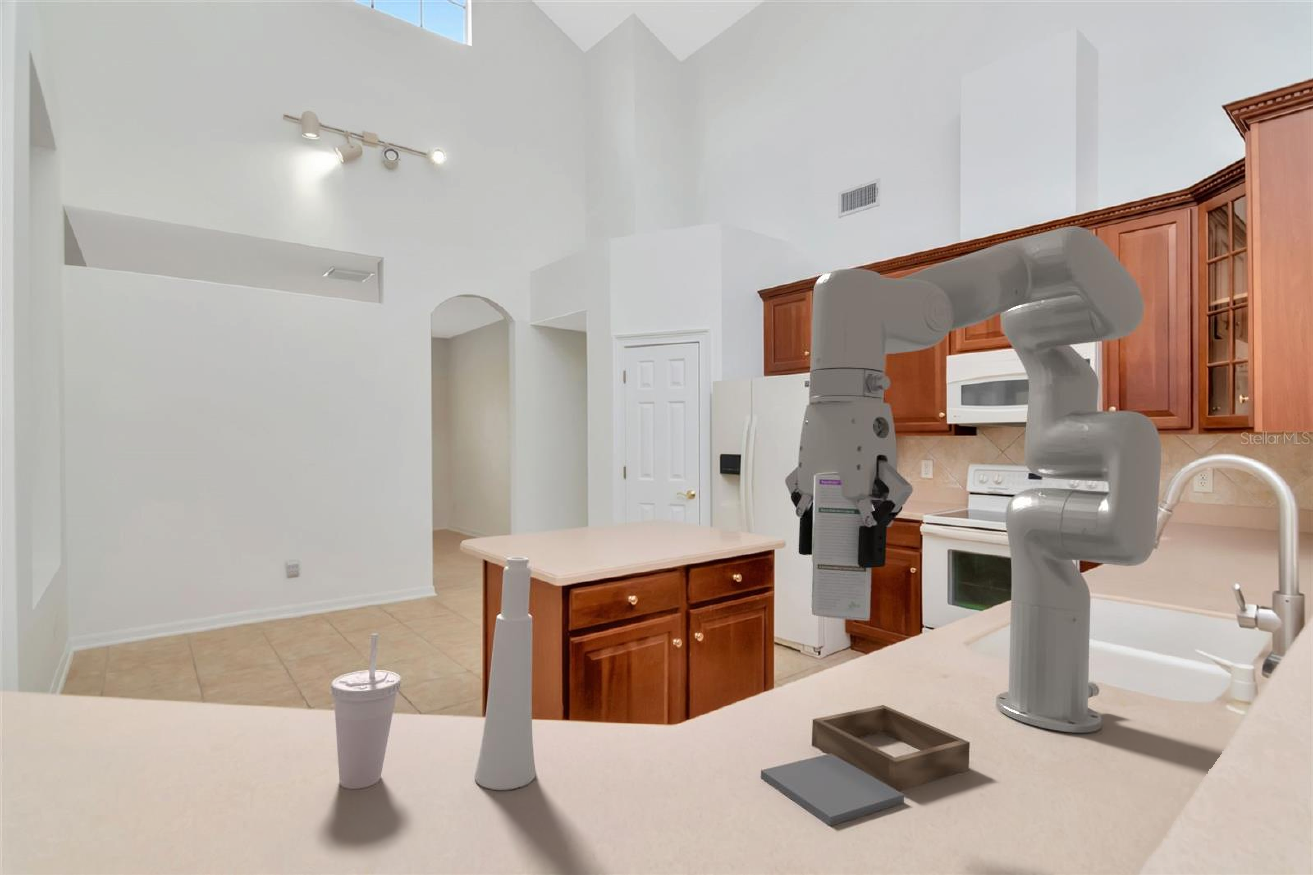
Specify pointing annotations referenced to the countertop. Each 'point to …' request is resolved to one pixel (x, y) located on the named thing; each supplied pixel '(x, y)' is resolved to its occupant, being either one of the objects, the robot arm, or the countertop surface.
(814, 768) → the plate
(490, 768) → the cosmetic bottle
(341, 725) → the smoothie
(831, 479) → the syrup box
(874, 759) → the brown wooden square frame
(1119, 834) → the countertop surface
